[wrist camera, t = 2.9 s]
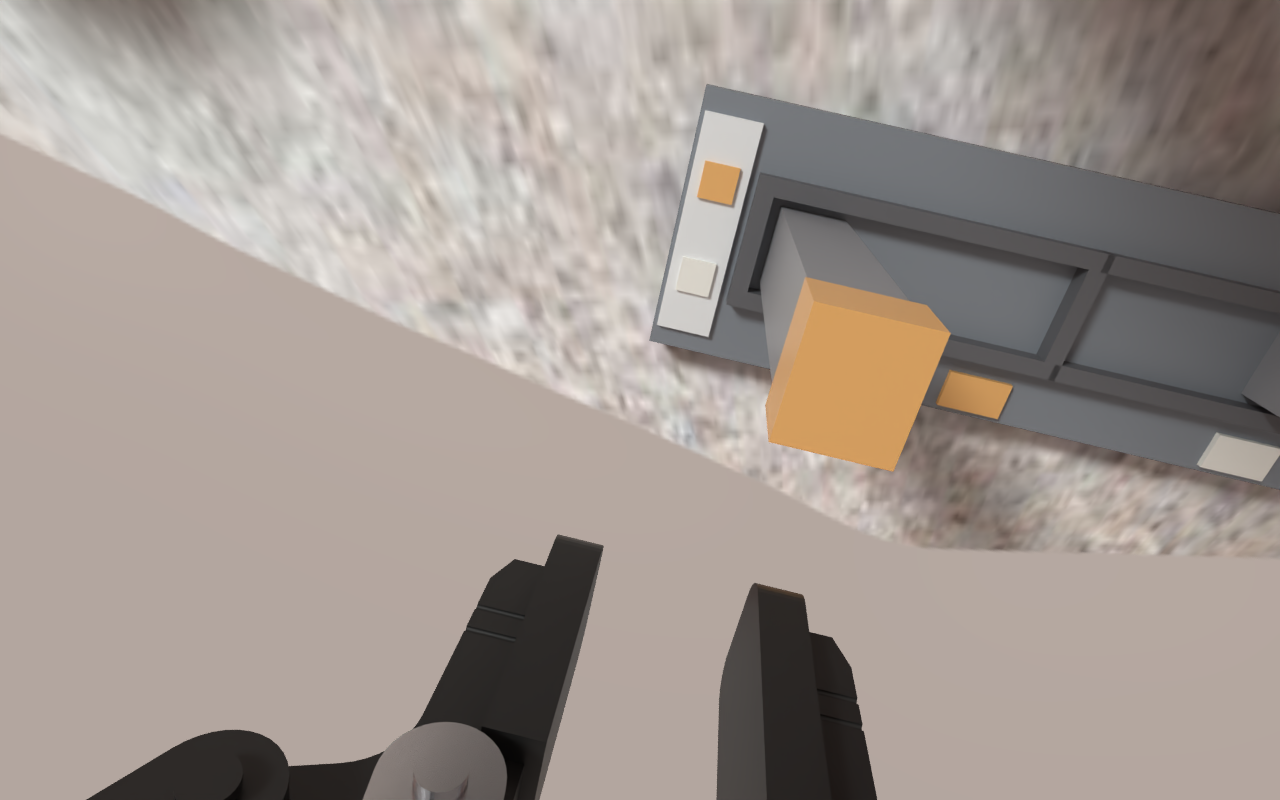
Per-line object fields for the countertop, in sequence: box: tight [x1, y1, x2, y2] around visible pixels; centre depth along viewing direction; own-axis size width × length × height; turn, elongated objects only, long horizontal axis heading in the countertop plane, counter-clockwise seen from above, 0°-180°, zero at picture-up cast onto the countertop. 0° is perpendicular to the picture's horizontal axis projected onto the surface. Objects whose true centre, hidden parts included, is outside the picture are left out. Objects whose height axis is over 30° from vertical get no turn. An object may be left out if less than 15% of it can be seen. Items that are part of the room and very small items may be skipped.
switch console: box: [649, 84, 1280, 490], centre depth 33 cm, size 12×32×3 cm, turn 78°
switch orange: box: [760, 206, 951, 471], centre depth 26 cm, size 4×3×16 cm
